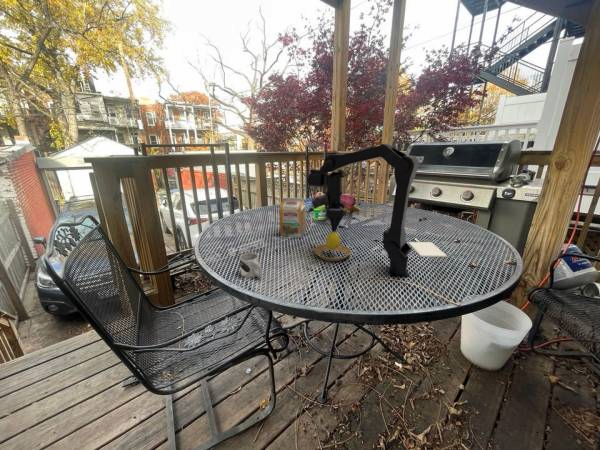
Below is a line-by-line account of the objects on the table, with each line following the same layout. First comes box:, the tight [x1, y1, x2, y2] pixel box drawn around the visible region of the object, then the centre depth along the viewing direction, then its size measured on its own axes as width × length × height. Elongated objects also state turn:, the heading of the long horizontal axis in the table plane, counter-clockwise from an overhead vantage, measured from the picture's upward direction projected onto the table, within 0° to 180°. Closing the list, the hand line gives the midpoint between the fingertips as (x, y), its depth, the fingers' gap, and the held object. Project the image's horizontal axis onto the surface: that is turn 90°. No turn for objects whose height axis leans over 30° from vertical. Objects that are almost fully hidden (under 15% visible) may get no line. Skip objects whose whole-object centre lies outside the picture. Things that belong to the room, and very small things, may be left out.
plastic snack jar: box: [278, 197, 307, 239], centre depth 125 cm, size 11×11×19 cm
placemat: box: [408, 241, 448, 258], centre depth 107 cm, size 14×10×1 cm
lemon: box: [325, 231, 341, 251], centre depth 102 cm, size 6×6×8 cm
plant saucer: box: [314, 243, 352, 262], centre depth 104 cm, size 15×15×3 cm
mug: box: [238, 252, 263, 279], centre depth 89 cm, size 10×7×7 cm, turn 45°
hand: (332, 227), depth 100 cm, fingers open, 9 cm apart
